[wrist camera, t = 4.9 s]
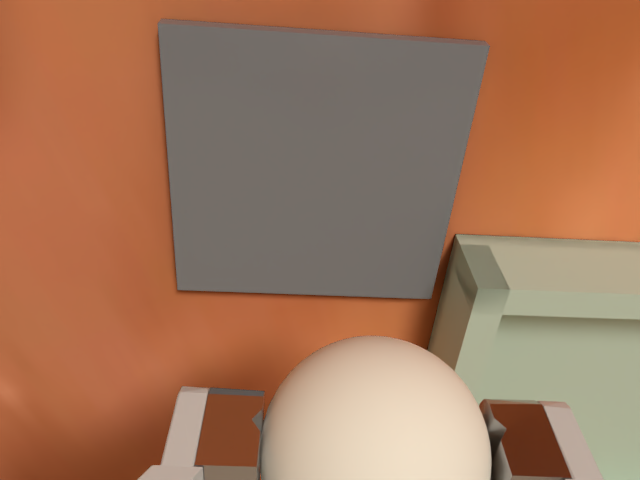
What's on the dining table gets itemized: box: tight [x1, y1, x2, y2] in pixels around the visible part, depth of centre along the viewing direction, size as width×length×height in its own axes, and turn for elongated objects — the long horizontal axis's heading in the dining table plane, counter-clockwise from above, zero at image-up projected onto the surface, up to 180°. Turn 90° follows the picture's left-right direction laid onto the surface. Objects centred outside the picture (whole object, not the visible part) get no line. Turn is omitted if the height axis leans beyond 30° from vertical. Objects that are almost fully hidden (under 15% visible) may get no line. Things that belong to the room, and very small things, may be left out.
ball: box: [259, 336, 492, 480], centre depth 10 cm, size 4×4×4 cm
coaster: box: [158, 19, 490, 299], centre depth 19 cm, size 9×9×1 cm
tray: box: [427, 234, 640, 480], centre depth 23 cm, size 16×14×3 cm
